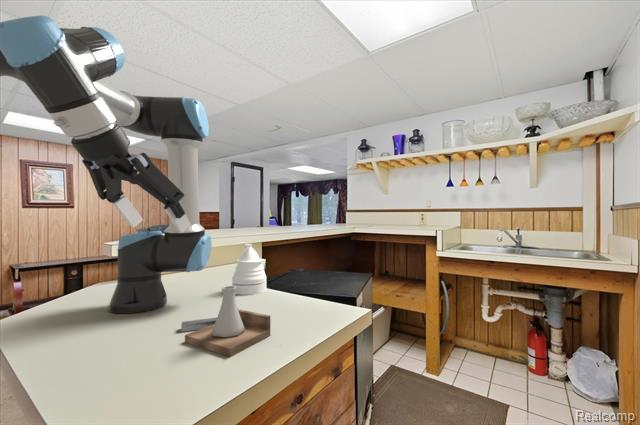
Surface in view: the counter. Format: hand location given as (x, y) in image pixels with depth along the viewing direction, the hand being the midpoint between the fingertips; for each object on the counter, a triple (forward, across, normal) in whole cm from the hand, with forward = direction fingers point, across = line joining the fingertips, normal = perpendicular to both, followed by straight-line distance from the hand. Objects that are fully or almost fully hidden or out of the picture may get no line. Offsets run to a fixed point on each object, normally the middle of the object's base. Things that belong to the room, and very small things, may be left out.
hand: (160, 226), depth 60 cm
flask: (+23, +12, -8) cm, 28 cm away
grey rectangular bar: (+28, +2, -7) cm, 29 cm away
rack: (+24, +12, -9) cm, 29 cm away
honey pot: (+53, -10, +20) cm, 57 cm away
